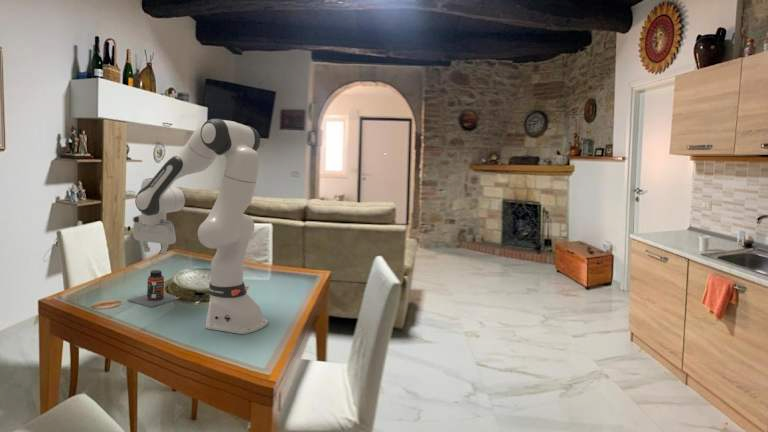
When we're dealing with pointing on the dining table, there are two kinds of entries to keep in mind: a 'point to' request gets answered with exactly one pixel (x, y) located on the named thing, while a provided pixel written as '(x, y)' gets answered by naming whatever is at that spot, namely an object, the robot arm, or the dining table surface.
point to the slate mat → (152, 303)
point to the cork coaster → (106, 304)
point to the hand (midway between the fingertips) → (155, 253)
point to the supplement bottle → (155, 285)
